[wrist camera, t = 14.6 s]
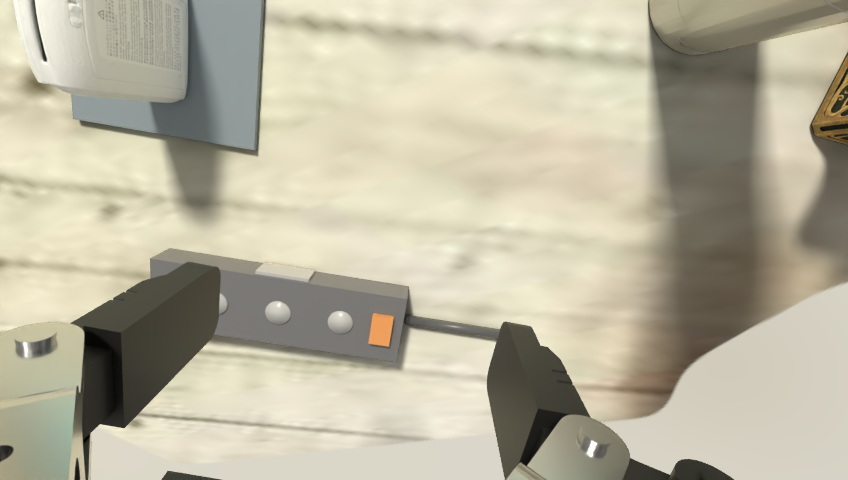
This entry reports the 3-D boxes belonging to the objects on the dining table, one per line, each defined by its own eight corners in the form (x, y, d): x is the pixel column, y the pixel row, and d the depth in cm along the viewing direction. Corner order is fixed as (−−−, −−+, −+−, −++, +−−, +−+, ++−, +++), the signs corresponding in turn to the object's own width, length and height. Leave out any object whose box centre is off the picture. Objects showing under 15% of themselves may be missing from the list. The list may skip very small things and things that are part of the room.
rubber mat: (63, -90, 32) (57, -94, 31) (266, -50, 33) (264, -53, 32) (78, 118, 36) (73, 118, 36) (256, 149, 37) (253, 150, 37)
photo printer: (138, -36, 32) (-27, -123, 21) (192, -26, 33) (60, -107, 21) (142, 98, 35) (1, 88, 24) (192, 106, 36) (76, 101, 24)
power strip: (169, 245, 40) (145, 257, 37) (533, 303, 42) (543, 320, 38) (170, 311, 42) (147, 328, 39) (516, 364, 44) (524, 385, 40)
